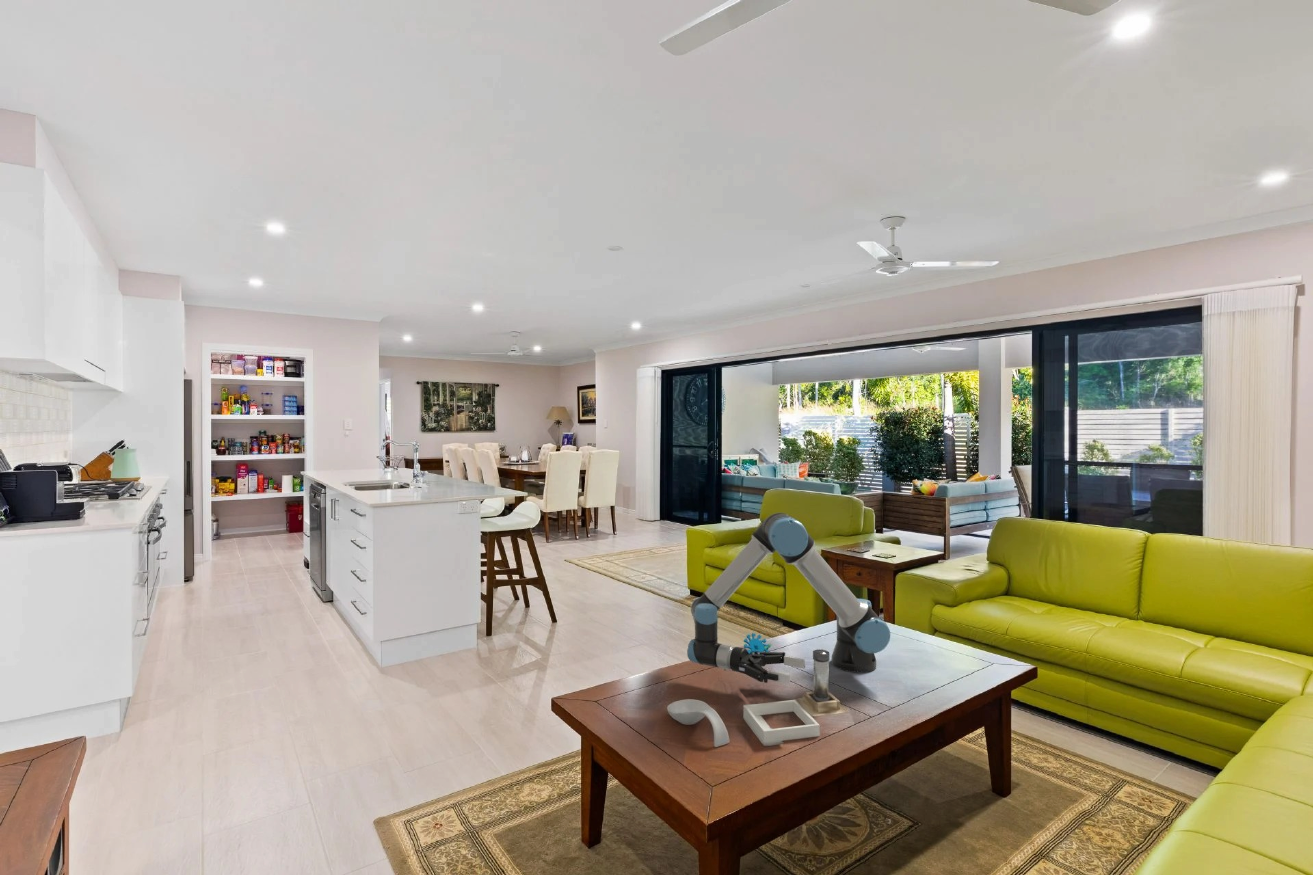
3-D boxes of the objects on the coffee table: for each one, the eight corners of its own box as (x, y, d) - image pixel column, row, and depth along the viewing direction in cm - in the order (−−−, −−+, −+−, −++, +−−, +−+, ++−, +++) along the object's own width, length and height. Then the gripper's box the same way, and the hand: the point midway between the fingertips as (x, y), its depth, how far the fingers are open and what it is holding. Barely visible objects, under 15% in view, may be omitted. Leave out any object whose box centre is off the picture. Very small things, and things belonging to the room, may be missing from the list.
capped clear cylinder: (824, 700, 195) (824, 648, 195) (832, 707, 191) (832, 654, 190) (810, 702, 194) (810, 650, 194) (817, 709, 190) (817, 655, 189)
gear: (748, 657, 229) (742, 631, 236) (741, 665, 233) (736, 639, 240) (775, 658, 233) (769, 632, 240) (769, 665, 237) (762, 640, 244)
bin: (794, 712, 190) (794, 699, 190) (819, 739, 174) (819, 724, 174) (743, 718, 186) (743, 705, 186) (764, 746, 171) (764, 731, 171)
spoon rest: (659, 716, 189) (659, 692, 189) (693, 707, 195) (693, 683, 195) (705, 752, 168) (705, 725, 168) (741, 740, 174) (741, 714, 174)
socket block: (830, 697, 200) (830, 686, 200) (849, 715, 188) (849, 703, 188) (794, 701, 197) (794, 690, 197) (811, 719, 186) (811, 707, 185)
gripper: (748, 657, 218) (809, 669, 207) (716, 683, 196) (783, 698, 185) (748, 635, 217) (809, 646, 206) (716, 659, 196) (783, 673, 185)
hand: (797, 671), depth 196 cm, fingers open, 13 cm apart
